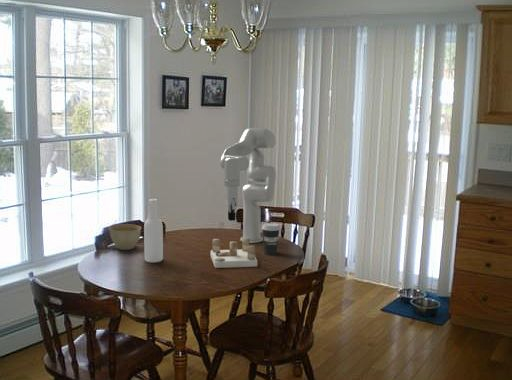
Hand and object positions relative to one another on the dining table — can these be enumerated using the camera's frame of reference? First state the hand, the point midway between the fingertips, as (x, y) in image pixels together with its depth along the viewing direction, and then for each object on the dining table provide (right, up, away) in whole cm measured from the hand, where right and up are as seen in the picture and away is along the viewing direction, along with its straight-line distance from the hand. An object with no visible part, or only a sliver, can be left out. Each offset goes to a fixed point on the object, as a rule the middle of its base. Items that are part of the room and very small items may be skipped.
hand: (231, 219), depth 290 cm
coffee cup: (+19, -18, +12) cm, 29 cm away
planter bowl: (-56, -16, +17) cm, 60 cm away
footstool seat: (+1, -20, -4) cm, 20 cm away
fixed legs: (+1, -17, -4) cm, 18 cm away
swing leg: (-2, -17, -5) cm, 18 cm away
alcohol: (-38, -20, -5) cm, 43 cm away
